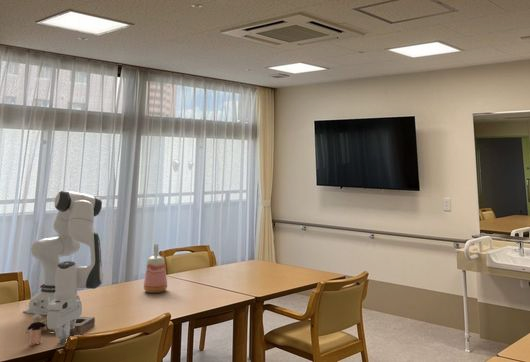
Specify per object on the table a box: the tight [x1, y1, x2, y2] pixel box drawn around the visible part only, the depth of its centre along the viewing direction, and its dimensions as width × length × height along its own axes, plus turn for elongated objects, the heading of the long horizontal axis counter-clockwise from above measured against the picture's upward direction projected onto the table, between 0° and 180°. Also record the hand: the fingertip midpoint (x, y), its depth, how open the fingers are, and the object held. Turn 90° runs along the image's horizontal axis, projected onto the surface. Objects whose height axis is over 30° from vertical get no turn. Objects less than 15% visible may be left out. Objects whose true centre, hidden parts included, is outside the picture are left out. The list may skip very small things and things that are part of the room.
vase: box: [143, 243, 168, 294], centre depth 264 cm, size 14×14×30 cm
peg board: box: [40, 316, 96, 335], centre depth 195 cm, size 20×12×4 cm, turn 84°
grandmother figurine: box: [25, 314, 47, 346], centre depth 177 cm, size 8×4×13 cm, turn 138°
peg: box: [58, 321, 71, 344], centre depth 179 cm, size 4×4×10 cm
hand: (65, 332), depth 179 cm, fingers open, 8 cm apart
